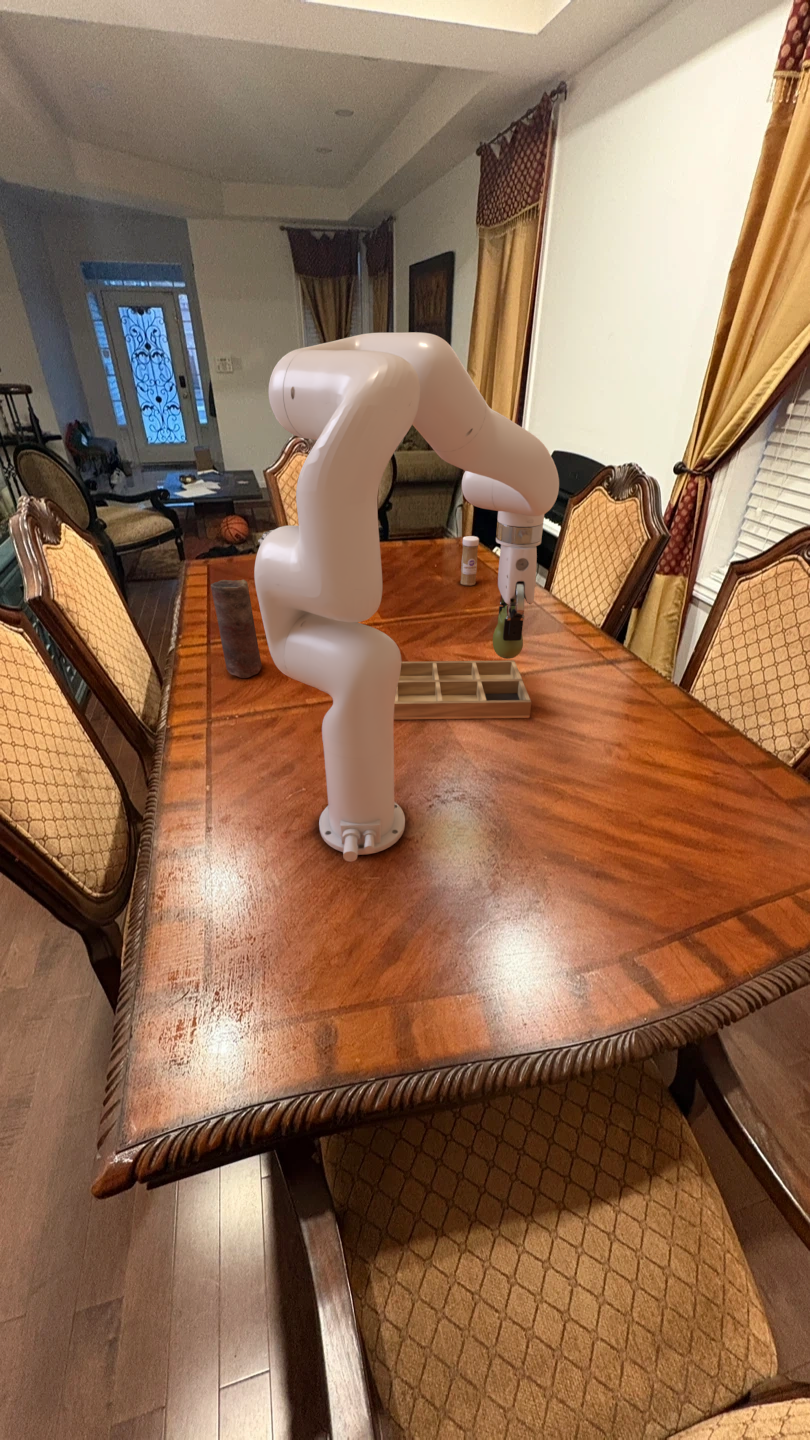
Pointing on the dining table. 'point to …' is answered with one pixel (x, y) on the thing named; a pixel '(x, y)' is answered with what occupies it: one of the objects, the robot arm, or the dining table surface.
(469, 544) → the sprinkles bottle
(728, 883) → the dining table surface
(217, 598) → the candle
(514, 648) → the pear
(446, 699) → the wooden compartment tray
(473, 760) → the dining table surface
